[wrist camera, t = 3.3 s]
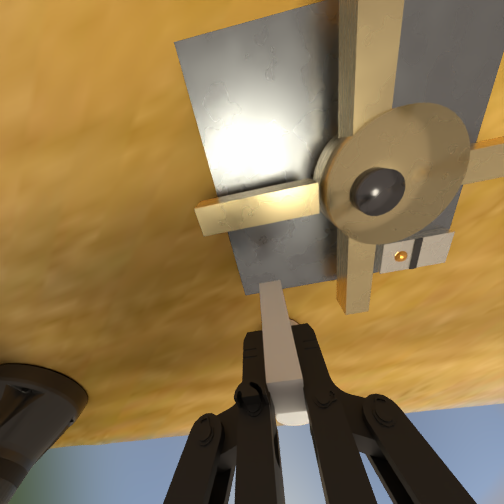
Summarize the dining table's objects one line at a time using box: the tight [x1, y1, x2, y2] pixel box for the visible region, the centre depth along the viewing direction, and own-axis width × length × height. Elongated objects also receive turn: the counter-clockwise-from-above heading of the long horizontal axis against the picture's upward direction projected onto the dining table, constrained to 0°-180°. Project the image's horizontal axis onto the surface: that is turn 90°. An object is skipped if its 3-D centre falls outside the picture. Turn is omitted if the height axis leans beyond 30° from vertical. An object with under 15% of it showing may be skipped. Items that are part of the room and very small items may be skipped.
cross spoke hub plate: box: [174, 0, 504, 295], centre depth 16 cm, size 20×20×3 cm
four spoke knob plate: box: [194, 0, 504, 315], centre depth 13 cm, size 22×22×4 cm
